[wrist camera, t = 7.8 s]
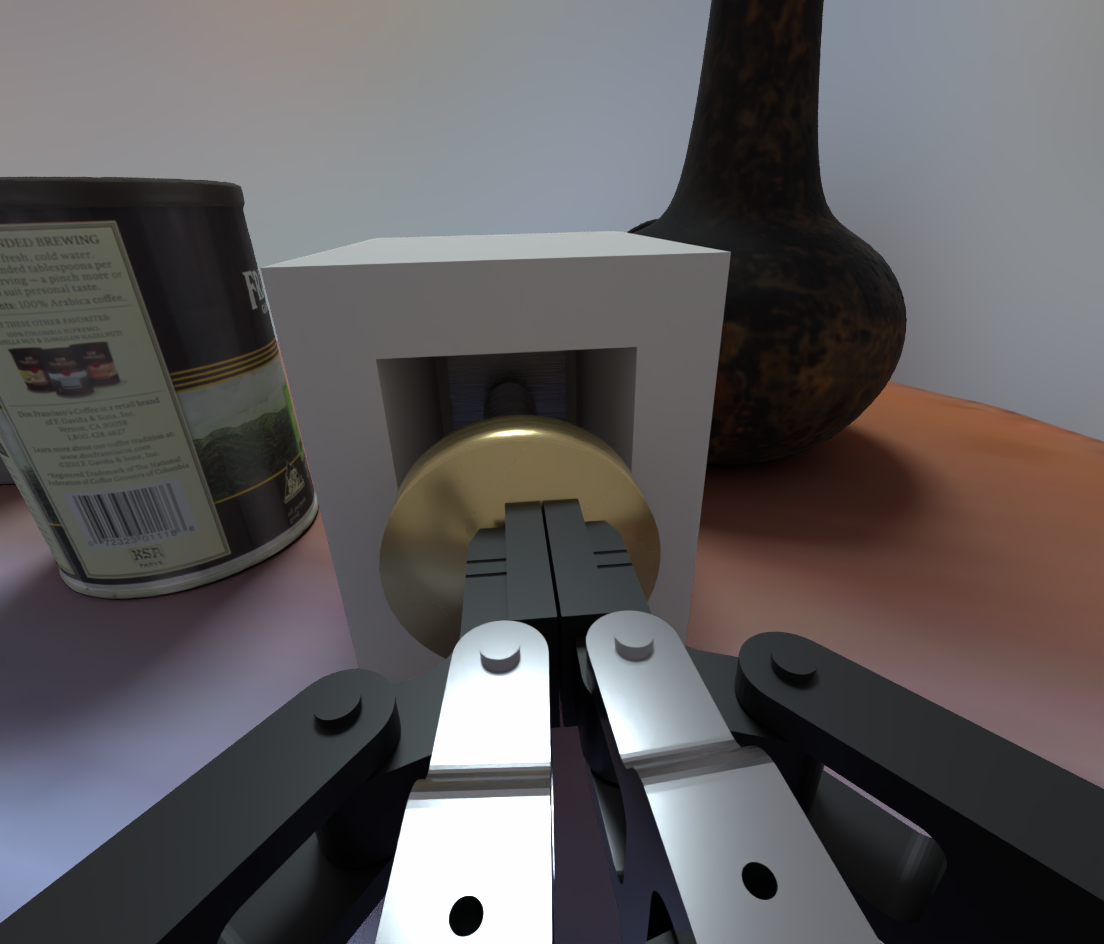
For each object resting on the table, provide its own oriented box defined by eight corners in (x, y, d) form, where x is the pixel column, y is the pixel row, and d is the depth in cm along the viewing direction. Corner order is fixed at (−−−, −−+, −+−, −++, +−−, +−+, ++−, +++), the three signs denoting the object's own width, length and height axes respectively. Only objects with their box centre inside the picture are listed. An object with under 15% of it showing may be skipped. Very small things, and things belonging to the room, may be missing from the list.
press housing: (684, 657, 17) (730, 251, 12) (363, 687, 16) (260, 267, 11) (610, 484, 28) (617, 231, 23) (414, 497, 27) (374, 238, 22)
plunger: (652, 661, 13) (670, 432, 10) (401, 684, 13) (354, 451, 10) (582, 462, 23) (582, 321, 21) (442, 471, 23) (424, 327, 20)
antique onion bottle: (702, 377, 45) (749, -77, 32) (936, 448, 31) (1171, -289, 19) (515, 424, 36) (482, -170, 24) (725, 548, 23) (902, -684, 10)
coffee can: (281, 461, 31) (207, 189, 25) (353, 531, 24) (276, 178, 18) (54, 526, 25) (-117, 190, 19) (63, 643, 18) (-201, 173, 12)
